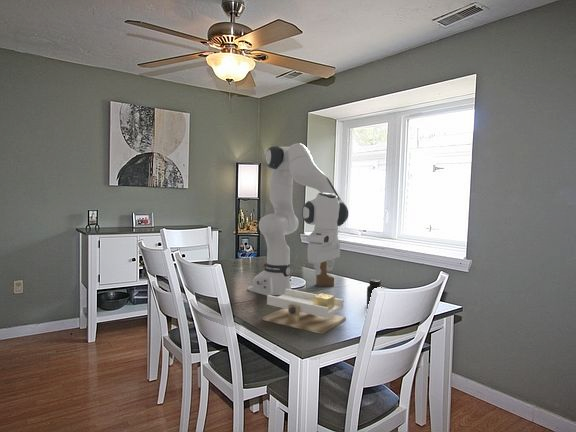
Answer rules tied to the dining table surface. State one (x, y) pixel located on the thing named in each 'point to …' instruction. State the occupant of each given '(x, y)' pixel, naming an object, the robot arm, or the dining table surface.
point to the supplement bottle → (373, 284)
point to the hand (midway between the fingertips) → (323, 272)
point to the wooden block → (324, 277)
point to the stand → (303, 319)
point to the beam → (304, 303)
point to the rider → (324, 300)
